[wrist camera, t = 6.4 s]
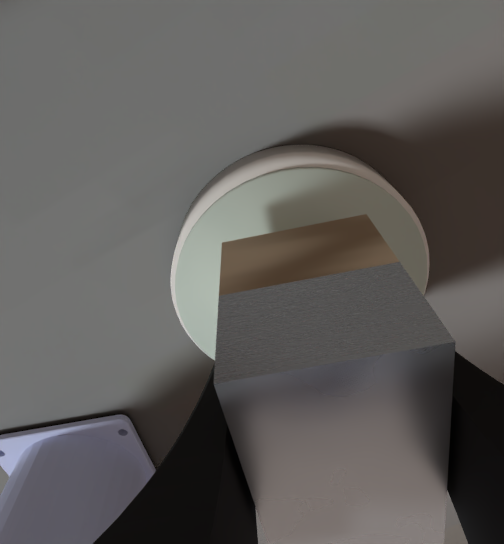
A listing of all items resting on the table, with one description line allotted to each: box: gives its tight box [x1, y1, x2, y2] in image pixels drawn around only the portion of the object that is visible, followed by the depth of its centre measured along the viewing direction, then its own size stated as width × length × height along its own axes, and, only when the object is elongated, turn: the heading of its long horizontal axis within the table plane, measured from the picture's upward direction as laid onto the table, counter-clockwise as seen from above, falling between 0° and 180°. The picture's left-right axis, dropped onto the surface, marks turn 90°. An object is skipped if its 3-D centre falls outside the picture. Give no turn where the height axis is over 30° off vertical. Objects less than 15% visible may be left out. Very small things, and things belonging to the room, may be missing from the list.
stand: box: [171, 145, 430, 361], centre depth 17 cm, size 10×10×2 cm
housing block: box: [214, 214, 455, 544], centre depth 12 cm, size 4×7×6 cm, turn 11°
